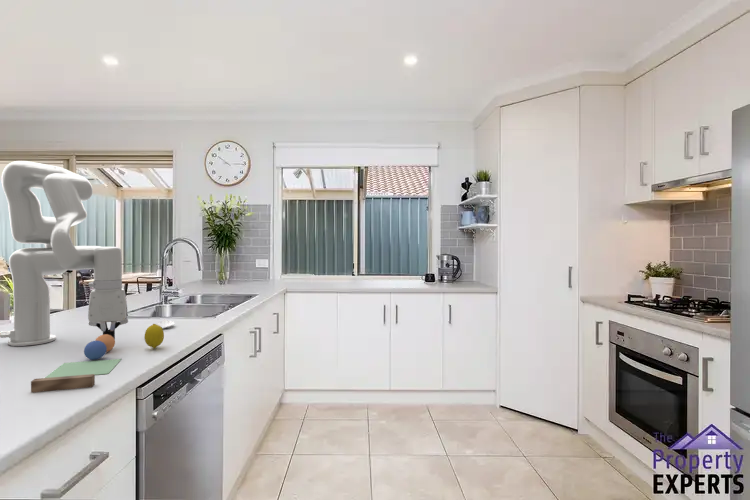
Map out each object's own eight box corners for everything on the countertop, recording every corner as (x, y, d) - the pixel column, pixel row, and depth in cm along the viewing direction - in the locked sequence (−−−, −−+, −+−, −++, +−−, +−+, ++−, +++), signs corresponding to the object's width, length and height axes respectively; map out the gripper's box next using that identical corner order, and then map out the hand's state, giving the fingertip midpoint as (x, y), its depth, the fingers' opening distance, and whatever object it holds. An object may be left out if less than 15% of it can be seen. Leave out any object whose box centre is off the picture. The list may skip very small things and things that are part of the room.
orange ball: (95, 348, 134) (91, 355, 129) (96, 331, 133) (92, 338, 128) (116, 348, 136) (112, 355, 131) (116, 331, 135) (113, 337, 130)
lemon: (155, 351, 134) (155, 325, 134) (140, 350, 135) (140, 325, 135) (167, 347, 139) (167, 322, 139) (152, 346, 140) (152, 321, 140)
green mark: (43, 379, 107) (43, 378, 107) (64, 363, 120) (64, 362, 120) (108, 374, 111) (108, 373, 111) (121, 359, 124) (121, 358, 124)
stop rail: (31, 392, 98) (30, 381, 97) (34, 389, 99) (34, 378, 99) (92, 387, 101) (92, 376, 101) (94, 384, 103) (94, 374, 103)
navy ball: (81, 363, 121) (81, 343, 120) (87, 357, 126) (87, 339, 126) (103, 361, 122) (103, 342, 122) (108, 356, 128) (108, 338, 127)
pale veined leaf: (175, 323, 177) (175, 317, 176) (173, 331, 166) (173, 324, 165) (154, 325, 174) (153, 319, 174) (150, 334, 163) (150, 327, 162)
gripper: (76, 287, 130) (77, 347, 130) (132, 285, 135) (133, 343, 136) (83, 285, 137) (84, 342, 137) (136, 283, 142) (137, 338, 143)
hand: (109, 342), depth 136 cm, fingers closed
